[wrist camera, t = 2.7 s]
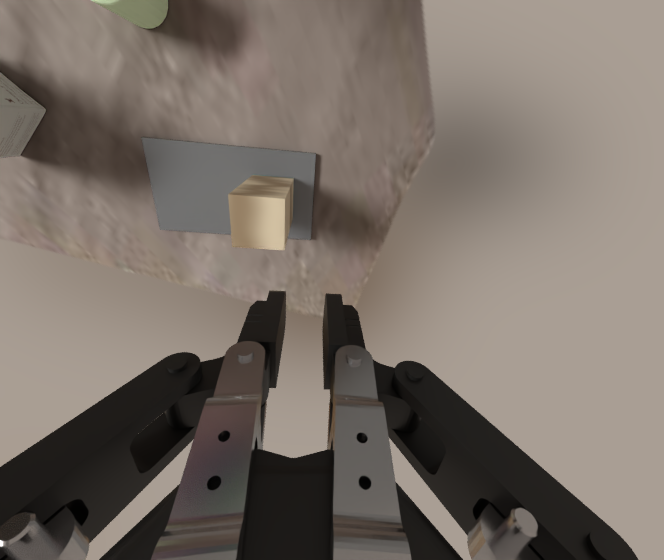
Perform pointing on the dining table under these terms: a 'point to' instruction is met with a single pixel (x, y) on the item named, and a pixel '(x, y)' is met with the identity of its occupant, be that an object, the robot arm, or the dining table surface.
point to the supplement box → (16, 118)
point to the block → (261, 212)
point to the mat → (220, 182)
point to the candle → (138, 11)
